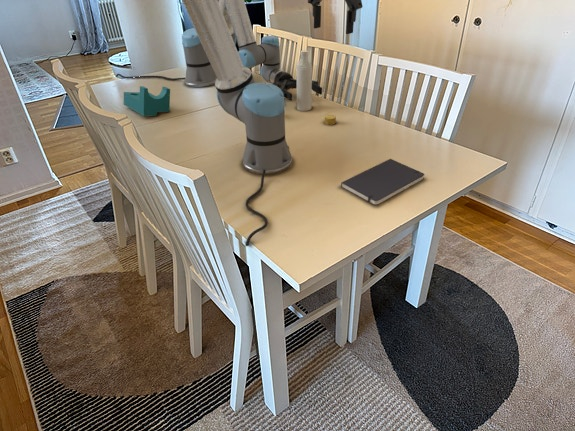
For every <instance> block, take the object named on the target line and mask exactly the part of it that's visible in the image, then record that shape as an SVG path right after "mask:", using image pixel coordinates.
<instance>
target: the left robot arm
mask: <svg viewBox="0 0 575 431" xmlns="http://www.w3.org/2000/svg"><path fill="white" fill-rule="evenodd" d="M218 3H219V6H220V8H221V11H222V13H223V16H224V18H225V21H226V23H227V26H228V29H229V31H230V34H231V36H232V39H233V41H234V44H235V45H237V47H238V50H237V51H238V54H239V56H240V59H241V61H242V64H243V66H244V67H247V68H249V69H251V68H252V69H253V68H254V67H257V66H259V65H261V67H260V70H259V74H260V77H261V78H262V79H263V80H264V81H265V82H266V83H268V84H273V85H275V86H277V87H279V88H280V89H281V90H282V92H283V95H284V99H287V100H288V101H289V102H293V93H292V92H290V91H289V90H293V89H296V90H297V80H296V78H294V77H293V75H292V74H291V73H289V72H287V71H285V70H283V69H282V68H281V58H280V57H281V52H280V51H281V50H280V48H281V47H280V46H281V45H280V39H279V37H278V36H277V35H265V36H263V37H262V38H261V42H260V43H259V44H257V40H256V38H255V34H254V31H253V27H252V26H253V25H252V23H251V20H250V16H249V13H248V9H247V5H246V1H245V0H218ZM181 44H182V47H183V53H184V59H185V66H186V68H185V69H186V70H185V77H174V78H173V77H167V76H165V75H136V76H135V75H134V76H124V75H122V74H121V73H117V74H116V75H115V77H116V78H118V77H121V78H122V79H127V80H128V79H129V80H130V79H142V78H144V79H145V78H146V79H147V78H158V79H164V80H169V81H181V80H184V83H185V86H187V87H190V88H206V87H211V86H215V81H216V79H217V76H216V74H215V72H214V70H213V68H212V66H211V63H210V61H209V59H208V57H207V55H206V52H205V50H204V48H203V46H202V44H201V41H200V39H199V37H198V35H197V33H196V31H195V28H194V27H192V28H189V29H186V30H185V31H183V33H182V34H181ZM139 76H140V77H139ZM133 77H135V78H133ZM312 92H315V93H317V94H318V95H319V96H322V95H323V87H322V86H320V85H319V81H317V80H314V79H312Z"/></svg>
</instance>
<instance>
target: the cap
mask: <svg viewBox="0 0 575 431" xmlns="http://www.w3.org/2000/svg"><path fill="white" fill-rule="evenodd" d="M336 119H337V118H336V115H334V114H327V115H325V116H324V124H325V125H327V126H333V125H335V124H336V122H337V120H336Z"/></svg>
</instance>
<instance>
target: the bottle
mask: <svg viewBox="0 0 575 431" xmlns="http://www.w3.org/2000/svg"><path fill="white" fill-rule="evenodd" d="M299 54H300V59H299V61H298V63H297V64H296V68H295V69H296V70H295V71H296V74H295V76H296V78H295V79H296V80H297V89H296V110H298V111H301V112H304V111H305V112H307V111H310V110H311V109H312V107H313V106H312V100H313V99H312V98H313V97H312V94H313V90H312V80H313V66H312V64H311V62H310V60H309V51H308V50H306V49H303V50H300V53H299Z"/></svg>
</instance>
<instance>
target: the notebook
mask: <svg viewBox="0 0 575 431" xmlns="http://www.w3.org/2000/svg"><path fill="white" fill-rule="evenodd" d="M424 176H425V173H424V172H422V171H420V170H417V169H415V168H413V167H410V166H408V165H406V164H404V163H401V162H399V161H397V160H395V159H393V158H389V159H387V160H385V161H382V162H380V163H379V164H377V165H375V166H372V167H370V168H368V169H366V170H364V171H362V172H360V173H358V174H356V175H353V176H351V177H350V178H348V179H345V180H344V181H341V182H340V183H341V184H340V187H341V188H342V189H344V190H345V191H347V192H349V193H350V194H353V195H355V196H356V197H358V198H360V199H362V200H363V201H365V202H367V203H369V204H371V205H373V206H379V205H381V204H382V203H384V202H386V201H388V200H390V199H391V198H393V197H395V196H397V195H398V194H400V193H402V192H404V191H406V190H407V189H409V188H411V187H413V186H415V185H416V184H418V183H420V182H422V181H423V180H424Z"/></svg>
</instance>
